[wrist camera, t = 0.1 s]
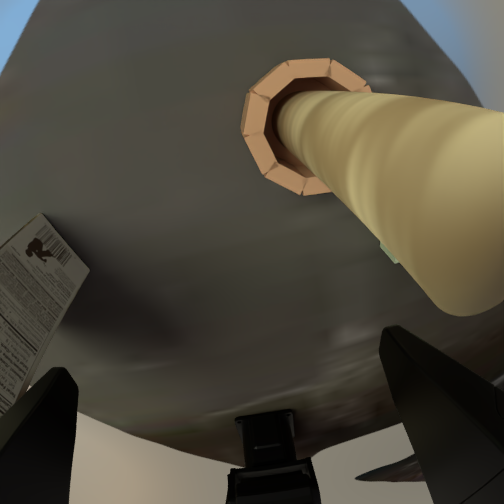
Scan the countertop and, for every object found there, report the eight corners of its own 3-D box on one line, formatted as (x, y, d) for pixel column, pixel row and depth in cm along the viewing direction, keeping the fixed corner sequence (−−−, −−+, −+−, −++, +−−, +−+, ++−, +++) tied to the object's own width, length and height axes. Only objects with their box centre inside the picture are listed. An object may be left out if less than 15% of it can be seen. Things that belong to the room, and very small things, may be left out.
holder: (361, 170, 21) (384, 185, 18) (248, 185, 21) (253, 203, 18) (353, 62, 17) (377, 58, 14) (231, 71, 17) (232, 66, 14)
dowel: (336, 149, 19) (533, 291, 5) (275, 156, 19) (405, 338, 5) (331, 88, 18) (565, 124, 3) (267, 93, 18) (427, 108, 3)
